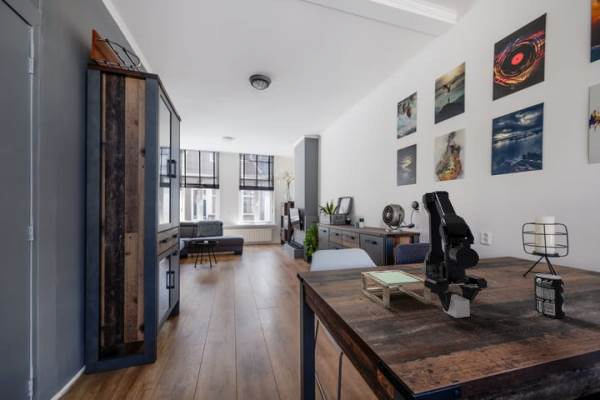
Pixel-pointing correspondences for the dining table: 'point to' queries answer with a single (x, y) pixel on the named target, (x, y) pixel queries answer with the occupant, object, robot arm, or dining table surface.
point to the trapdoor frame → (386, 288)
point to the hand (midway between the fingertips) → (456, 310)
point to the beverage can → (549, 295)
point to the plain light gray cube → (458, 307)
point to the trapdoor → (394, 278)
